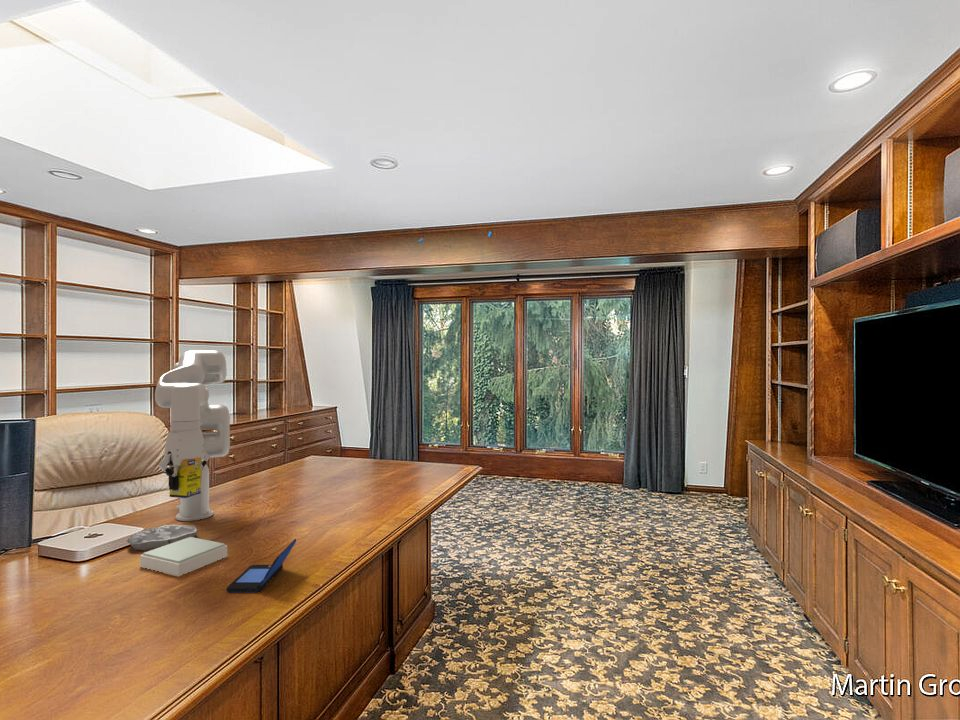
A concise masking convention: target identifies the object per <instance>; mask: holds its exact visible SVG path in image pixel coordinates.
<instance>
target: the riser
mask: <svg viewBox="0 0 960 720" xmlns="http://www.w3.org/2000/svg"><path fill="white" fill-rule="evenodd" d="M227 557H228V545H227V544H225V543H223V542H218V541H213V540H208V539H204V538H198V537H195V536H194V537H188V538H186V539H183V540H180V541H177V542H174V543H171V544H168V545H165V546H162V547H159V548H156V549H150V550H147V551H144V552H143V553H142V554H140V555H139V561H140V562H139V564H140V565H139V566H140V568H141V567H142V569H145V568H147V569H146V570H149V569H151V570H150V571H153V570H155V571H154V572H157V571H159V572H158V573H161V572H163V573H162V574H166V575H169V576H174V577H177V578H179V577H181V576H184V575H185V574H188V572H189V573H191V572H193V571H195V570H198V569H200V568H203V567H205V565H206V566H208V565H210V564H212V563H215V562H218V561H220V560H223V559H225V558H227ZM222 558H223V559H222ZM217 560H218V561H217ZM183 574H184V575H183Z"/></svg>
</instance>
